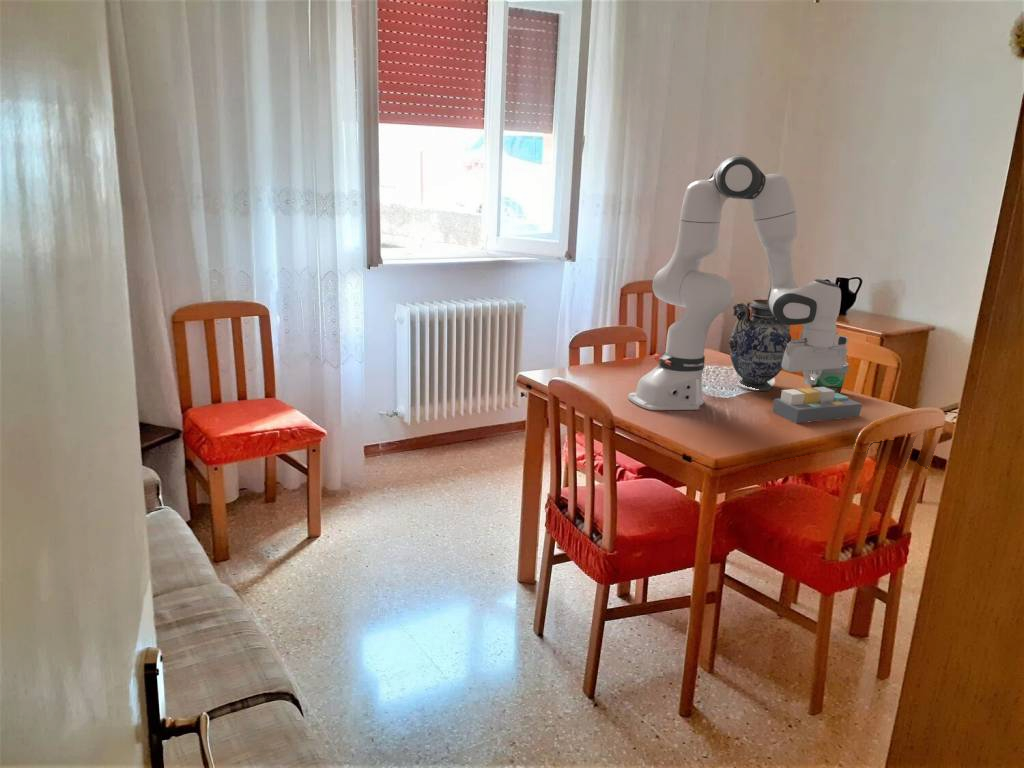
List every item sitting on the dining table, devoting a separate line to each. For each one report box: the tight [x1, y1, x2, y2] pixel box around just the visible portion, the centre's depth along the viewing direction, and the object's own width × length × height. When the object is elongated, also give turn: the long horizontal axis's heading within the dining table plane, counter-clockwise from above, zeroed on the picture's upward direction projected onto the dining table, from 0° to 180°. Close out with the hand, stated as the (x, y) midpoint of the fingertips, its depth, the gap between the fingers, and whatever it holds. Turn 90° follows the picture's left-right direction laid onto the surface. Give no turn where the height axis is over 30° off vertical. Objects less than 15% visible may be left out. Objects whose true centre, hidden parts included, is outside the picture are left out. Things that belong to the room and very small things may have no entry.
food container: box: [810, 361, 850, 394], centre depth 236 cm, size 12×6×10 cm, turn 99°
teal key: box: [834, 393, 849, 401], centre depth 221 cm, size 4×4×4 cm
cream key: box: [780, 388, 805, 405], centre depth 215 cm, size 4×4×4 cm
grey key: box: [812, 387, 835, 402], centre depth 219 cm, size 4×4×4 cm
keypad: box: [772, 397, 863, 424], centre depth 217 cm, size 23×10×4 cm, turn 111°
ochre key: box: [796, 387, 820, 404], centre depth 217 cm, size 4×4×4 cm
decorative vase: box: [728, 299, 792, 392], centre depth 239 cm, size 21×19×28 cm
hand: (810, 384), depth 216 cm, fingers closed
